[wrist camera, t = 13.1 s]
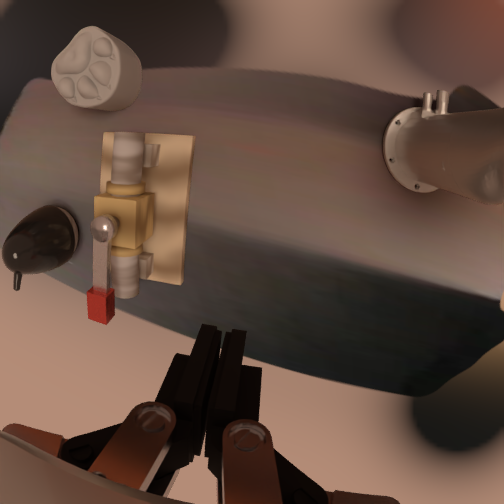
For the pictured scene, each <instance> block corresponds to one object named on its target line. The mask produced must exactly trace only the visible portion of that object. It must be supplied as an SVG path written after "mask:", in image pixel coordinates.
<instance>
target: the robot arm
mask: <svg viewBox="0 0 504 504" xmlns="http://www.w3.org/2000/svg"><path fill="white" fill-rule="evenodd" d="M432 98H433V95H432V94H430V93H424V94H423V107H413V108H408V109H405V110H403V111H401V112H399V113H398V114H396V115H395V116H394V117H393V118H392V119H391V120H390V122H389V124H388V126H387V127H386V130H385V133H384V138H383V154H384V159H385V162H386V165H387V168H388V169H389V171H390V173H391V175H392V176H393V177H394V178H395V180H396V181H397V182H399V183H400V184H401V185H402V186H404V187H406V188H407V189H409V190H412V191H415V192H420V193H428V192H432V191H435V190H437V189H439V188H440V189H443V190H446V191H449V192H452V193H455V194H458V195H460V196H463V197H466V198H469V199H472V200H474V201H477V202H480V203H484V204H489V205H496V204H501V203H504V108H498V109H490V110H481V111H470V112H459V113H450V114H448V113H447V109H448V104H449V93H448V92H446V91H443V90H437V97H436V102H437V103H436V110H433V111H432V110H431V104H432ZM395 121H396V122H397V124H395ZM390 158H391V161H389V159H390ZM415 185H416V187H415ZM246 332H247V331H243V330H237V329H232V333H231V332H226V334H225V338H224V342H223V346H222V350H221V354H220V345H221V335H222V331H219V330H217V326H212V325H207V324H202V326H201V328H200V331H199V333H198V336H197V339H196V341H195V344H194V346H193V349H192V352H191V354H190V356H189V355H184V354H179V353H177V354H176V355H175V356H174V358H173V361H172V363H171V365H170V367H169V370H168V372H167V375H166V377H165V379H164V381H163V383H162V386H161V388H160V390H159V393H158V395H157V397H156V400H155V402H150V401H149V402H144V403H141V404H139V405H137V406H135V407H134V408H133V409H132V410H131V412H130V413H129V415H128V416H127V417H126V419H125V420H124V421H123V423H120V424H117V425H113V426H110V427H107V428H104V429H100V430H97V431H94V432H90V433H87V434H83V435H79V436H76V437H73V438H71V439H65V438H64V437H63V436H62V435H58V434H54V433H50V432H45V431H42V430H38V429H35V428H31V427H27V426H24V425H21V424H15V423H13V424H9V425H7V426H6V427H4V428H3V430H2V431H0V504H192V503H188V502H183V501H179V500H174V499H170V498H167V496H168V494H169V492H170V490H171V488H172V485H173V484H174V482H175V480H176V477H177V476H178V474H179V470H180V468H182V467H184V466H187V465H189V462H193V458H194V455H197V456H200V454H201V449H202V445H203V440H204V437H205V432H206V438H205V457H208V458H209V459H208V469H209V470H210V471H211V472H212V473H213V474H214V475H215V477H216V478H217V504H400V503H399V502H398V501H397V500H396V499H394V498H392V497H388V496H379V495H369V494H359V493H351V492H344V491H338V490H335V491H334V492H329V491H325V490H324V489H323V488H322V487H321V486H319V485H318V484H317V483H316V482H314V481H313V480H312V479H310V478H309V477H308V476H306V475H305V474H304V473H303V472H301V471H300V470H299V469H298V468H297V467H295V466H294V465H293V464H291V463H290V462H289V461H288V460H287V459H286V458H284V457H283V456H282V455H281V454H280V453H279V452H277V451H276V450H275V449H274V448H273V442H272V437H271V434H270V431H269V430H268V429H267V428H266V427H265V426H264V425H263V424H261V423H259V422H258V421H259V407H260V392H261V377H262V368H260V367H253V366H247V365H242V359H243V352H244V346H245V339H246ZM219 354H220V358H219Z"/></svg>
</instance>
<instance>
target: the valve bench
mask: <svg viewBox="0 0 504 504" xmlns="http://www.w3.org/2000/svg"><path fill="white" fill-rule="evenodd" d="M195 138H196V136H188V135H174V134H156V133H140V132H104V136H103V148H102V162H101V182H100V195H97V196H94V219H95V218H97V217H99V216H101V215H103V214H109V215H111V216H113V217H114V218H115V220H116V222H117V225H118V231H117V234H116V235H115V237H113V238H112V242H111V268H110V272H111V277H112V289H115V296H116V297H118V298H125V299H126V298H132V297H135V296H137V295H138V294H139V278H141V279H149V280H154V281H160V282H165V283H171V284H176V285H181V284H182V283H183V278H184V259H185V243H186V229H187V216H188V204H189V193H190V183H191V173H192V164H193V155H194V146H195Z"/></svg>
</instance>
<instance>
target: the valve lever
mask: <svg viewBox="0 0 504 504" xmlns="http://www.w3.org/2000/svg"><path fill="white" fill-rule="evenodd" d="M90 229H91V234H92V236H93V287H92V288H91V289H90V290H88V291H87V304H88V305H87V306H88V318H89V319H91V320H94V321H97V322H99V323H102V324H105V325H107V324H108V323H109V321H110V320H111V319H112V318H113V316H114V315H115V289H112V288H110V268H111V242H112V238H113V237H115V235H116V234H117V231H118V225H117V222H116V220H115V218H114V217H113V216H111V215H109V214H103V215H101V216H99V217H97V218H95V219H94V220H93V221H92V223H91V227H90Z"/></svg>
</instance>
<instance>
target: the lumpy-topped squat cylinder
mask: <svg viewBox="0 0 504 504" xmlns="http://www.w3.org/2000/svg"><path fill="white" fill-rule="evenodd" d="M51 76H52V80H53V82H54V84H55V86H56V88H57V89H58V91H59V93H60V95H61V96H63V97H64V99H65V100H66V101H67V102H69V103H70V104H72V105H75V106H78V107H83V108H91V109H98V110H106V111H118V110H122V109H125V108H127V107H129V106H130V105H131V104H132V103H133V102H134V101H135V100H136V98H137V97H138V94H139V92H140V88H141V84H142V68H141V63H140V60H139V59H138V57H137V56H136V54H135V53H134V52H133V51H132V49H131V48H130V47H128V46H127V45H126V44H125V43H124V42H122V41H121V40H119V39H118V38H116V37H114V36H112V35H111V34H109V33H107V32H105V31H103V30H101V29H100V28H98V27H94V26H90V27H86V28H84V29H82V30H80V31H79V32H78V33H77V34H76V35H75V37H74V38H73V40H72V41H71V42H70V44H69V45H68V46H67V47H66V48H65V49H64V50H63V51H62V52H61V53H60V54H59V55H58V56H57V57H56V58H55V60H54V62H53V64H52V70H51Z"/></svg>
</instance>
